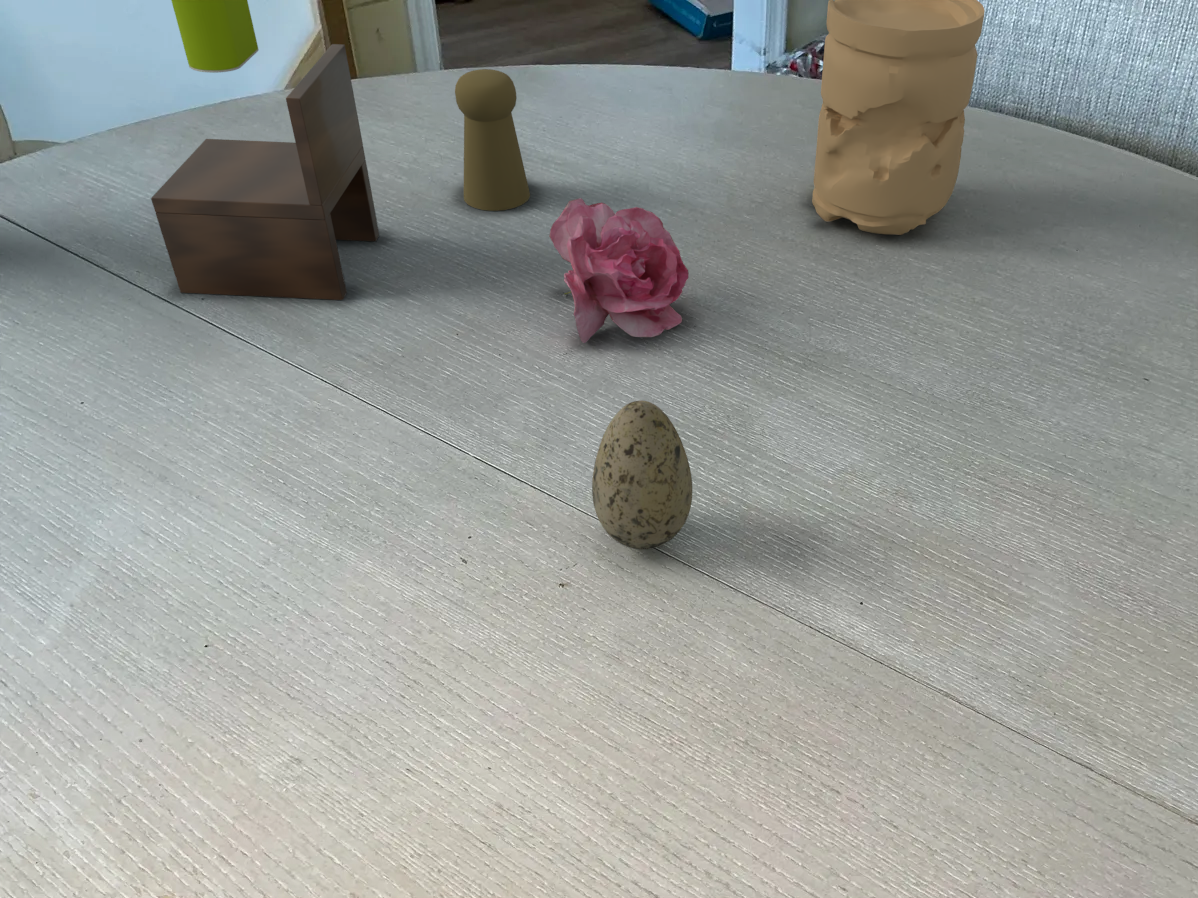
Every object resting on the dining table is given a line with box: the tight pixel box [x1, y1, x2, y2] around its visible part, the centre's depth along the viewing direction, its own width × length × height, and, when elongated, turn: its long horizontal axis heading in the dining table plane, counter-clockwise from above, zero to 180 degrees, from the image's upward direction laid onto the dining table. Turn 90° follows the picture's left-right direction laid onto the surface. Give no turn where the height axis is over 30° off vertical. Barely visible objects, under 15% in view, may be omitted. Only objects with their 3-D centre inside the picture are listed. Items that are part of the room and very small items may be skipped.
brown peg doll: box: [454, 68, 531, 212], centre depth 104 cm, size 6×6×11 cm
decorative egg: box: [591, 400, 693, 550], centre depth 69 cm, size 6×6×10 cm
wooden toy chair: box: [150, 43, 380, 301], centre depth 92 cm, size 13×11×16 cm
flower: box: [549, 197, 690, 344], centre depth 90 cm, size 11×10×10 cm
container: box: [811, 0, 985, 236], centre depth 101 cm, size 13×13×18 cm
